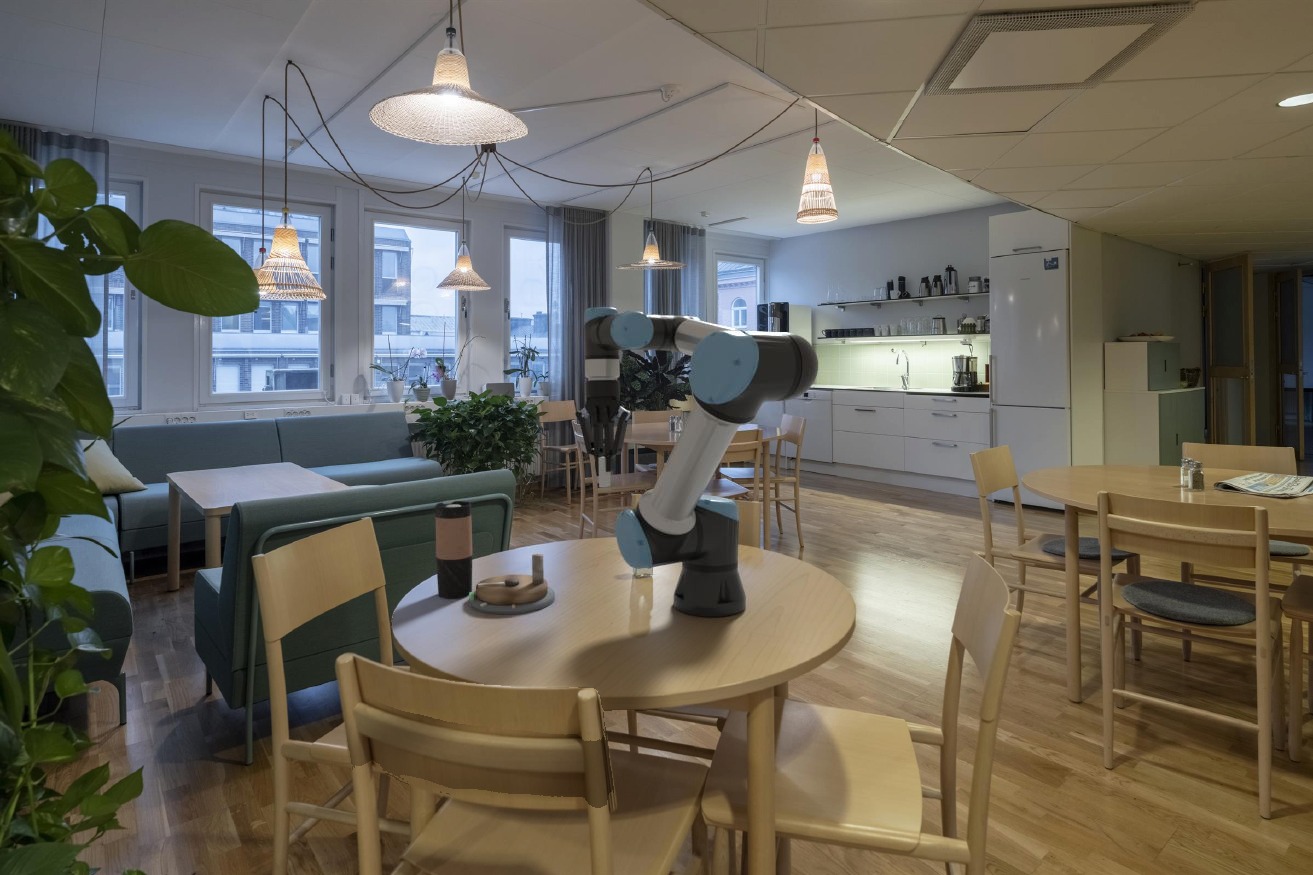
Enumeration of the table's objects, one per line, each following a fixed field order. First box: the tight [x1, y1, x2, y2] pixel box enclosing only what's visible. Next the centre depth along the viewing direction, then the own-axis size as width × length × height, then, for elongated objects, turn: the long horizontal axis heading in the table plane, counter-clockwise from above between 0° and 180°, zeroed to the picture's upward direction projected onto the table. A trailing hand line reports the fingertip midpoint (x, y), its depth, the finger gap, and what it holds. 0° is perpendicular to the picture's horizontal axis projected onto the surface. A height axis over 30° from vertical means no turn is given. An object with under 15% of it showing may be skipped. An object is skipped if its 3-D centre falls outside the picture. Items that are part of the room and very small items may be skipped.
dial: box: [475, 553, 549, 605], centre depth 156 cm, size 15×15×8 cm
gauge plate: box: [468, 586, 556, 615], centre depth 157 cm, size 18×18×2 cm
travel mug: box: [434, 500, 473, 600], centre depth 160 cm, size 8×8×20 cm
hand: (604, 486), depth 162 cm, fingers closed
